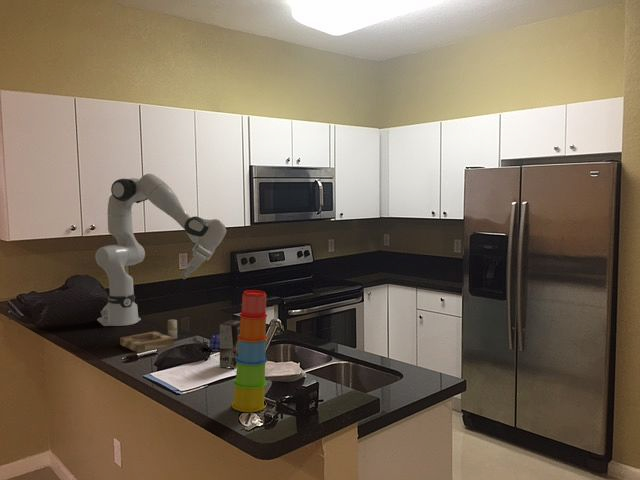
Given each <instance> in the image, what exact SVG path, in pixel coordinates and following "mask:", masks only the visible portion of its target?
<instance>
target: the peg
mask: <svg viewBox="0 0 640 480" xmlns="http://www.w3.org/2000/svg"><path fill="white" fill-rule="evenodd" d="M167 336H170V337H172V338H174V340H177V339H178V320H177V319H168V320H167Z"/></svg>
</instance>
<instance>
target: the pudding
mask: <svg viewBox="0 0 640 480" xmlns="http://www.w3.org/2000/svg"><path fill="white" fill-rule="evenodd" d="M207 345H209V348H210V349H212V351H211V352H220V334H214V335H212V336H211V337H210V340H209V344H207ZM210 349H209V350H210Z"/></svg>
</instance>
